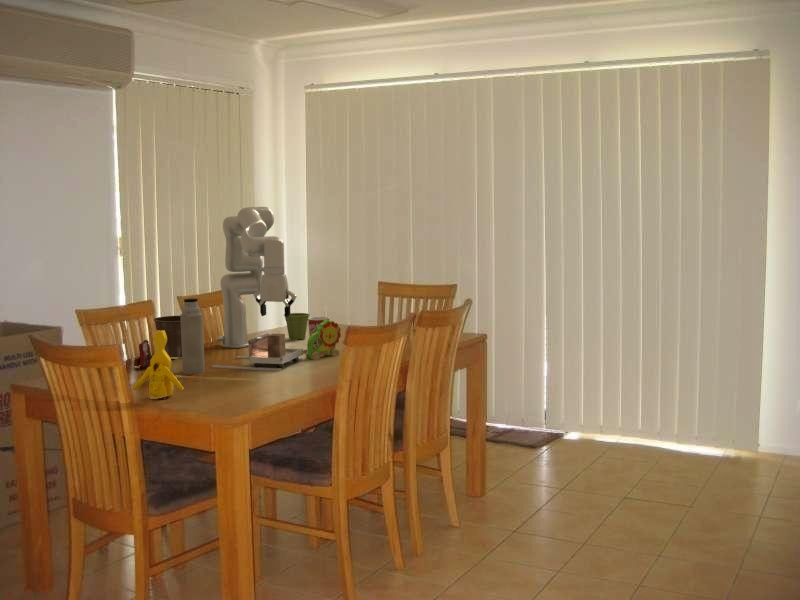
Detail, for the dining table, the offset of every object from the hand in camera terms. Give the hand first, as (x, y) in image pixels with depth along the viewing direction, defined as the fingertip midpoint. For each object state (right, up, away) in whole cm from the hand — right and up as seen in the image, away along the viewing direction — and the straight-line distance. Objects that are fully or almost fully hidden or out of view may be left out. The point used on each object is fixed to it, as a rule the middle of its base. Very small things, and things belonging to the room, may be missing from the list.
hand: (275, 316), depth 353 cm
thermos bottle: (-29, -22, -9) cm, 37 cm away
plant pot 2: (+1, -12, +68) cm, 69 cm away
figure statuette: (-31, -26, -48) cm, 63 cm away
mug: (+13, -15, +40) cm, 45 cm away
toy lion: (+17, -18, +19) cm, 31 cm away
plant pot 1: (-44, -18, +27) cm, 54 cm away
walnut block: (0, -15, +1) cm, 15 cm away
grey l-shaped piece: (0, -19, +2) cm, 19 cm away
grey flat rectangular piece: (-7, -19, +4) cm, 21 cm away
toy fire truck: (-50, -20, +6) cm, 55 cm away
